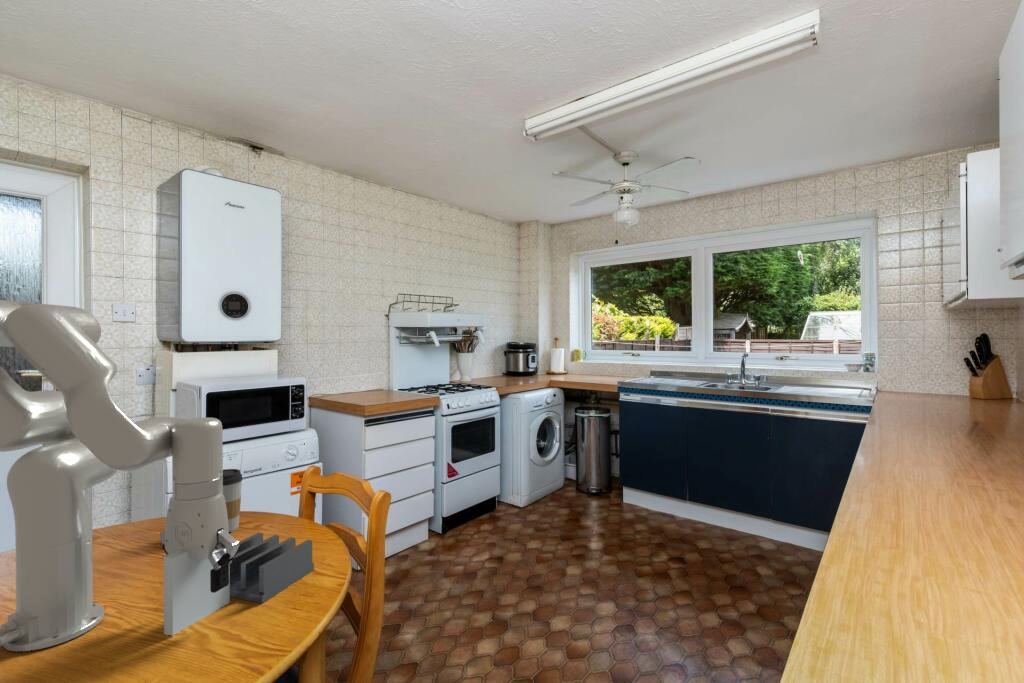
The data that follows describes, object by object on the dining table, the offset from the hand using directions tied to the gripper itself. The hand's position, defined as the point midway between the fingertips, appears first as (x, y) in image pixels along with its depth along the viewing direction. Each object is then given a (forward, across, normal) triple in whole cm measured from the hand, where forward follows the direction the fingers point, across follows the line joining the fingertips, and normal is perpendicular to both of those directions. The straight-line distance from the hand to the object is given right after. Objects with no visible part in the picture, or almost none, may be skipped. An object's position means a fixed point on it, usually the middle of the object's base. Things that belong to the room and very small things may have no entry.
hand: (198, 584), depth 86 cm
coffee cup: (+6, -30, +32) cm, 44 cm away
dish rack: (+6, 0, +14) cm, 15 cm away
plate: (+6, 0, 0) cm, 6 cm away
